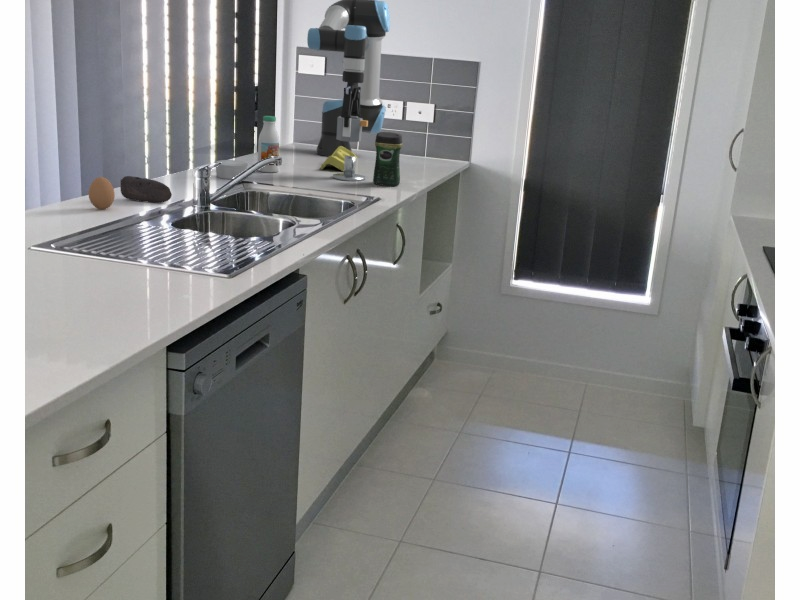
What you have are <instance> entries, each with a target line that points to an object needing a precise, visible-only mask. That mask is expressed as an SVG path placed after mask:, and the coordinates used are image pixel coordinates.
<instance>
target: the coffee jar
mask: <svg viewBox="0 0 800 600" xmlns="http://www.w3.org/2000/svg"><path fill="white" fill-rule="evenodd" d="M374 145H375V162H374V170H373V177H372V183H374V185H379V186H386V187H389V186H391V187H393V186H399V185H400V183H401V171H400V170H401V169H400V153H401V149H402V147H403V136H402V134H401V133H399V132H398V133H397V132H391V131H380V132H379V133H376V136H375V142H374Z"/></svg>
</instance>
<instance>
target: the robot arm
mask: <svg viewBox="0 0 800 600" xmlns="http://www.w3.org/2000/svg"><path fill="white" fill-rule="evenodd" d="M324 13H325V14H324V19H323V21H322V22H321V24H320V25H319V27H310V28H309V29H308V31H307V40H306V41H307V47H308V49H310V50H314V51H315V50H316V51H325V52H340V53H343V60H341V63H342V65H343V67H342V68H343V71H342V79H341V80H342V82H344V83H347V84H346V87H344V88H343V99H332V100H331V99H330V100H326V101H324V102H323V104H322V111H321V113H322V114H321V116H322V117H321V136H320V137H319V141H318V143H317V146H316V154H317V155H319V156H324V157H329V156H331V155H332V154H333V153H334V152H335V151H336V149H337V148H338V147H339V146H343V147H344V148H346V149H348V150H350V151H351V152H352V146H351V142H348V141H340V140H337V139H336V136H337V118H338V117H339V116H341V118H343V135H342V136H344V137H350V133H351V118H350V117H358V118H363V120H366V121H368V126H367V127H364V126H362V133H367V134H368V133H369V134H377V133H379V132H382V128H383V124H384V120H385V113H386V108H387V107H386V106H385V105H383V100H382V99H381V98H380V84H381V83H380V82H381V62H382V42H383V41H382V40H383V39H385V37H386V36H387V35H386V33H388V32H390V26H391V25H390V24H391V23H390V22H391V21H390V10H389V5H388V3H387V2H386V1H383V0H337V1H336V2H333V3H332V4H330V6H328V8H327V9H326V11H325V12H324ZM343 29H344V30H343ZM352 153H353V152H352Z"/></svg>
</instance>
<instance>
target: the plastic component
mask: <svg viewBox="0 0 800 600" xmlns="http://www.w3.org/2000/svg"><path fill="white" fill-rule="evenodd" d="M345 156H355V157H356V160H355V162H356V161H357V158H358V157H357V155H356V154H355V153H354V152H351V151H350V150H348V149H346V148H344V147H343V146H339V147H338V148H337V149H336V151H335V152H334V153H333V154H332V155H331V156H327V158H326V160H325V161H324V162H323V163H322V164H321V166H320V168H319V169H320V170H324V169H325V168H326V167H327V166H328V165H329V164H330V165H332V166H333V167H335V168H336V169H338V170H340V171H341V172H342V173H344V160H345Z"/></svg>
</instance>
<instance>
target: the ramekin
mask: <svg viewBox="0 0 800 600" xmlns="http://www.w3.org/2000/svg"><path fill="white" fill-rule="evenodd" d="M218 162H222V163H221V164H220V165H219V166H218V167H216V166H215V168H216V176H217V177H218V178H220V179H222V178H223V180H231V179H232V178H233V177H235V176H236V175H238V174H239V173H241V172H242V171H244V170H245V169H248V162H246V161H243V160H236V159H235V160H234V159H222V160H217V161H215V162H214V163H218Z"/></svg>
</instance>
